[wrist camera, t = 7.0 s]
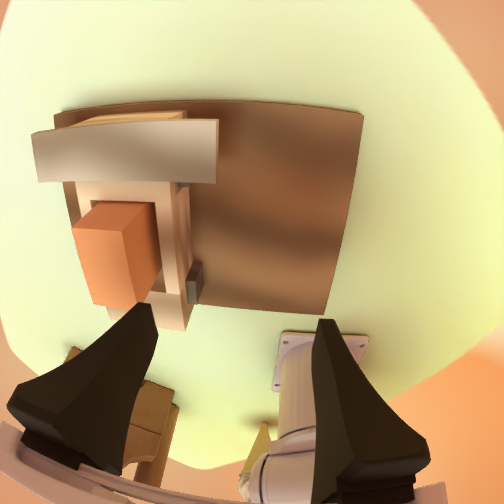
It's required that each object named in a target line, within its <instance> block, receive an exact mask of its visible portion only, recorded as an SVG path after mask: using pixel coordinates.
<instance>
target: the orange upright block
mask: <svg viewBox="0 0 504 504" xmlns="http://www.w3.org/2000/svg"><path fill="white" fill-rule="evenodd" d="M71 229H72V233H73V237H74V240H75V244H76V248H77V252H78V255H79V259H80V262H81V266H82V269H83V272H84V276H85V279H86V282H87V285H88V288H89V291H90V294H91V297H92V300H93V303H94V304H96V305H102V306H107V307H113V308H118V309H124V310H130V309H131V308H132V307H133V306H134V305H135V304H137V303H138V302H143V303H144V301H145V299H146V297H147V295H148V293H149V291H150V289H151V288H152V286H153V284H154V282H155V280H156V278H157V276H158V274H159V272H160V270H161V269H162V267H163V266H162V259H161V251H160V243H159V235H158V226H157V217H156V207H155V202H139V201H111V200H101V201H100V202H99V203H98V204H97V205H96V206H95V207H94V208H92V209H91V210H90V211H89V212H88V213H87V214H86V215H85V216H84V217H82V218H81V219H80V220H79V221H78V222H77V223H76V224H75V225H74V226H73V227H72V228H71Z"/></svg>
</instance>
